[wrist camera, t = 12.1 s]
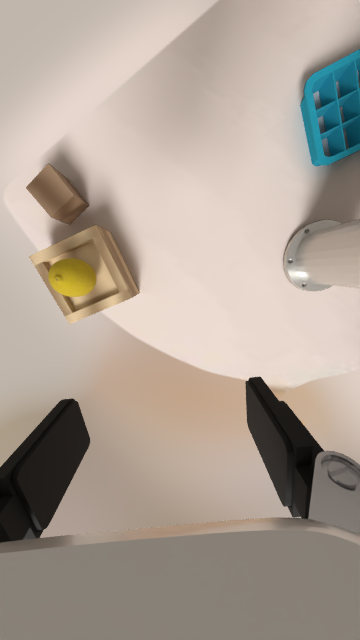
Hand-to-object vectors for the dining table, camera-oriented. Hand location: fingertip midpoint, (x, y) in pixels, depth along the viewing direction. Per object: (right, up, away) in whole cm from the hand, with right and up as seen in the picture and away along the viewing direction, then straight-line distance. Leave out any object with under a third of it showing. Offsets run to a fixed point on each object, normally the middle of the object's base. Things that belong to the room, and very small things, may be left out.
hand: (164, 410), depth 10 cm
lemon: (-15, +12, +21) cm, 28 cm away
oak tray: (-15, +13, +26) cm, 33 cm away
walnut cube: (-19, +26, +22) cm, 39 cm away
